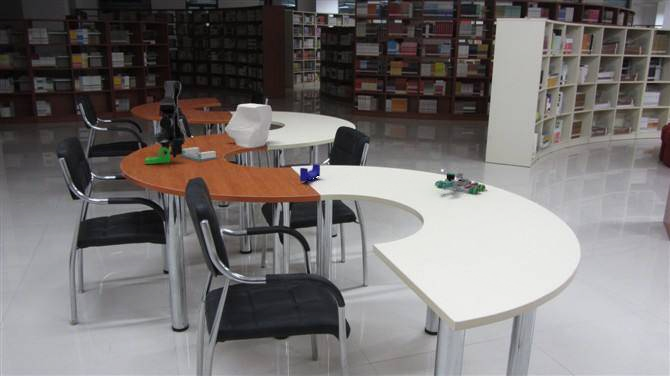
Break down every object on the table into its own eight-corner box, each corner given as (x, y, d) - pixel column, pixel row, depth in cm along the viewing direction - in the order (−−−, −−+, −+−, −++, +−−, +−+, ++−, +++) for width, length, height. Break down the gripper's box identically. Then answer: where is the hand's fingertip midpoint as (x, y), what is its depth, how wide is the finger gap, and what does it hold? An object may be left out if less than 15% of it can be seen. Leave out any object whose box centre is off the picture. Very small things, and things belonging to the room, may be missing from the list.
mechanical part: (169, 160, 288) (168, 145, 286) (170, 162, 283) (169, 147, 281) (145, 161, 284) (144, 146, 282) (145, 163, 278) (144, 148, 276)
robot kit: (421, 195, 228) (422, 173, 225) (449, 185, 246) (451, 165, 244) (462, 203, 216) (464, 180, 214) (488, 192, 235) (490, 171, 233)
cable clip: (311, 176, 258) (311, 163, 257) (319, 177, 256) (320, 164, 255) (297, 180, 248) (297, 167, 247) (305, 182, 246) (305, 169, 245)
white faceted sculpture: (251, 151, 317) (250, 107, 311) (223, 145, 335) (222, 103, 329) (279, 148, 332) (278, 105, 326) (251, 142, 350) (250, 101, 344)
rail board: (180, 156, 297) (179, 149, 296) (199, 154, 305) (198, 146, 304) (198, 161, 285) (198, 153, 284) (218, 159, 293) (218, 151, 292)
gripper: (145, 125, 281) (146, 155, 285) (164, 129, 269) (165, 161, 273) (164, 124, 289) (166, 153, 293) (184, 128, 277) (185, 158, 281)
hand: (170, 156), depth 284 cm, fingers open, 8 cm apart
